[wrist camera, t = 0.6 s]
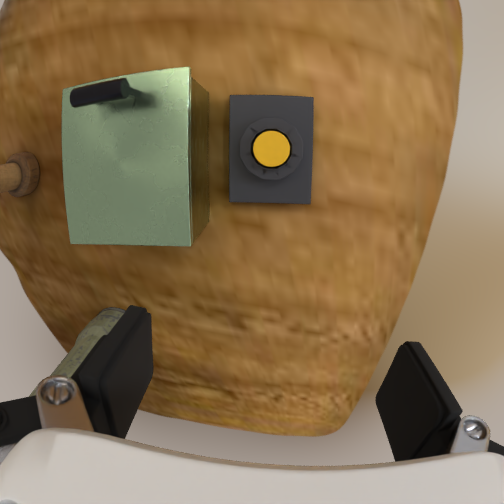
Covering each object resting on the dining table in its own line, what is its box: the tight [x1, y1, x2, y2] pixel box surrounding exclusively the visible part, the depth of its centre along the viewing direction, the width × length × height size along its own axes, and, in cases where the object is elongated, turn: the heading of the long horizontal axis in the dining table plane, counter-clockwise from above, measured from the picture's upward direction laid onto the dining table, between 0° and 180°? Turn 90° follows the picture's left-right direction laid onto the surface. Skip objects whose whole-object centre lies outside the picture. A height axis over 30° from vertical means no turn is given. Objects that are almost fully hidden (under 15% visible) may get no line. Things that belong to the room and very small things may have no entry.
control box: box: [229, 95, 313, 204], centre depth 32 cm, size 12×9×4 cm
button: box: [253, 131, 290, 167], centre depth 30 cm, size 4×4×2 cm
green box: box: [190, 77, 209, 243], centre depth 31 cm, size 16×14×9 cm
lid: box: [62, 67, 193, 246], centre depth 24 cm, size 16×14×5 cm
